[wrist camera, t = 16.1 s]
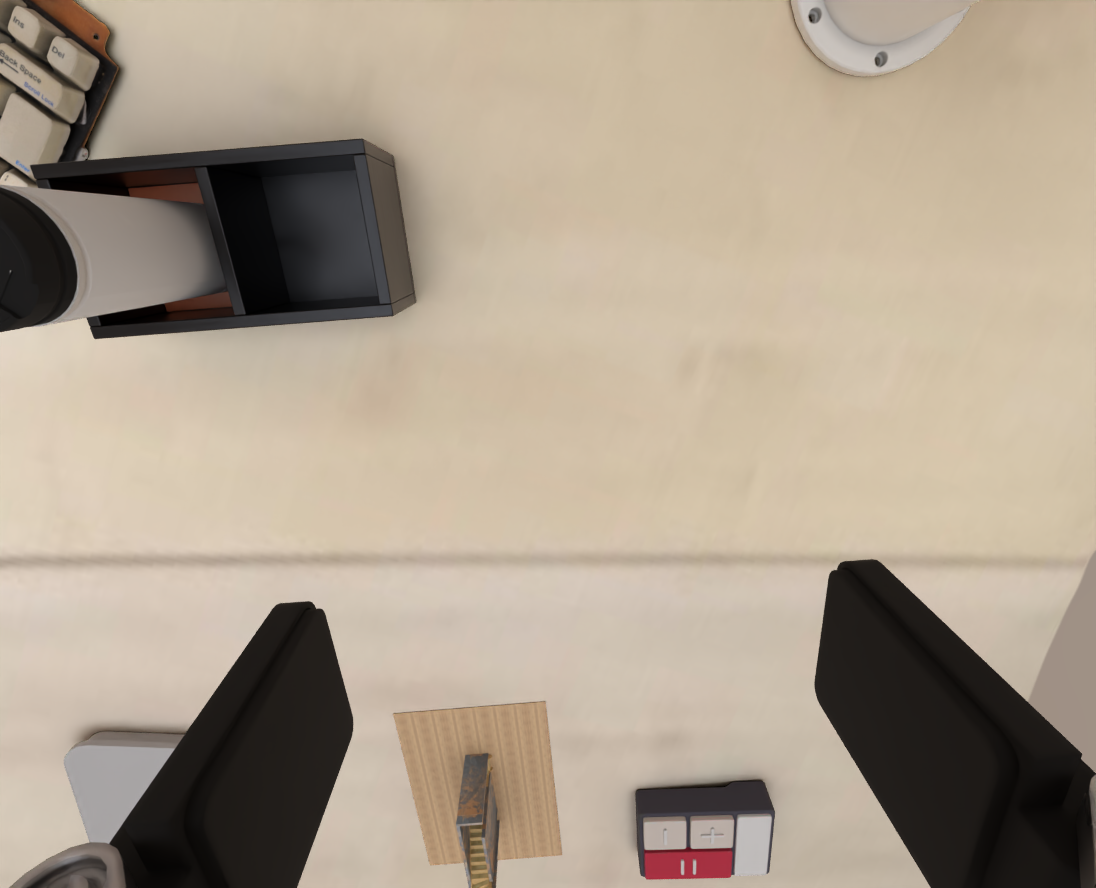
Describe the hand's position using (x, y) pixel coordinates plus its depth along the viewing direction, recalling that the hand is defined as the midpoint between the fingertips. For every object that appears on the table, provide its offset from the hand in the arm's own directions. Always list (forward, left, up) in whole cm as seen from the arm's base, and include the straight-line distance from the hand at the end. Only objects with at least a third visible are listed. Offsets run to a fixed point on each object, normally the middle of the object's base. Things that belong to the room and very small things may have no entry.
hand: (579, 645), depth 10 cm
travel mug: (-8, -25, -36) cm, 44 cm away
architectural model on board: (+52, -11, -36) cm, 64 cm away
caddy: (-8, -20, -36) cm, 42 cm away
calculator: (+59, +14, -36) cm, 71 cm away
